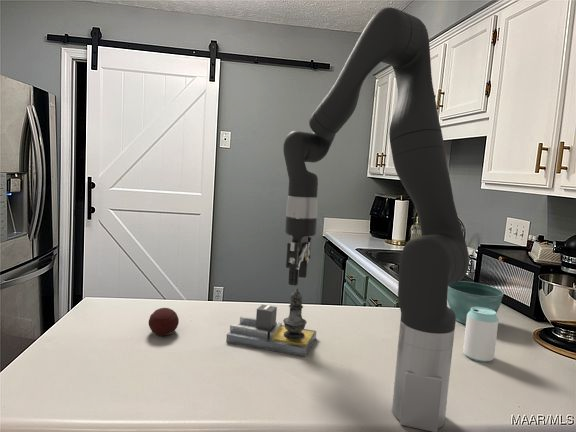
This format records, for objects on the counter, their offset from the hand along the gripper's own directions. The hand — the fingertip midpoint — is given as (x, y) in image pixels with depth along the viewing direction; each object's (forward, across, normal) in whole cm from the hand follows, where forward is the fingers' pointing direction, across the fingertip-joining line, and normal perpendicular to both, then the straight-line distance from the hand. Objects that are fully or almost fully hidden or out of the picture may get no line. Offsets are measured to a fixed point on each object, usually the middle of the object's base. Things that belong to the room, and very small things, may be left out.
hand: (297, 280), depth 102 cm
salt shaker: (+14, 0, 0) cm, 14 cm away
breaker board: (+16, 0, -6) cm, 17 cm away
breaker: (+14, 0, -8) cm, 16 cm away
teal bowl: (+17, -40, +46) cm, 63 cm away
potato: (+16, +7, -33) cm, 37 cm away
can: (+17, -12, +44) cm, 49 cm away
